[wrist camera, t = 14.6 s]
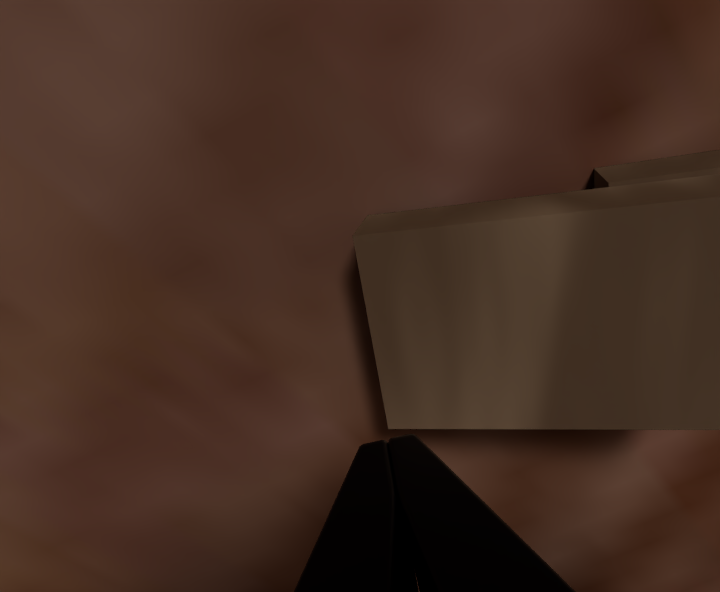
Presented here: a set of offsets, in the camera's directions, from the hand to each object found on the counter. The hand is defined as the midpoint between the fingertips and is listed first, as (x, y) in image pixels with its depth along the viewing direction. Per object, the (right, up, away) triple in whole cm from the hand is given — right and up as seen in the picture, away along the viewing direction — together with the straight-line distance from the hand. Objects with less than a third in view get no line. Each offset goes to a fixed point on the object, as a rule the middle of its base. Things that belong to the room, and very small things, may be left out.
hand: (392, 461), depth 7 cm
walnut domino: (0, +2, +4) cm, 5 cm away
